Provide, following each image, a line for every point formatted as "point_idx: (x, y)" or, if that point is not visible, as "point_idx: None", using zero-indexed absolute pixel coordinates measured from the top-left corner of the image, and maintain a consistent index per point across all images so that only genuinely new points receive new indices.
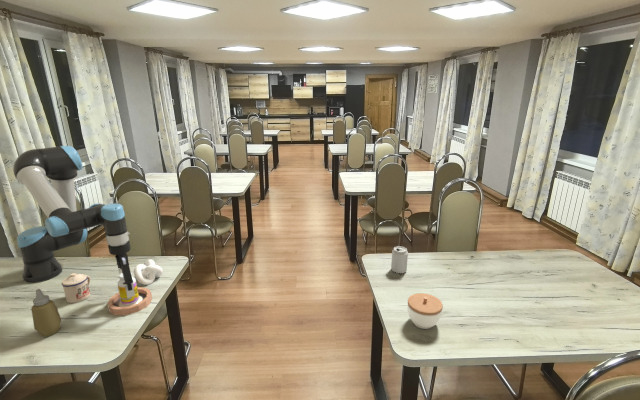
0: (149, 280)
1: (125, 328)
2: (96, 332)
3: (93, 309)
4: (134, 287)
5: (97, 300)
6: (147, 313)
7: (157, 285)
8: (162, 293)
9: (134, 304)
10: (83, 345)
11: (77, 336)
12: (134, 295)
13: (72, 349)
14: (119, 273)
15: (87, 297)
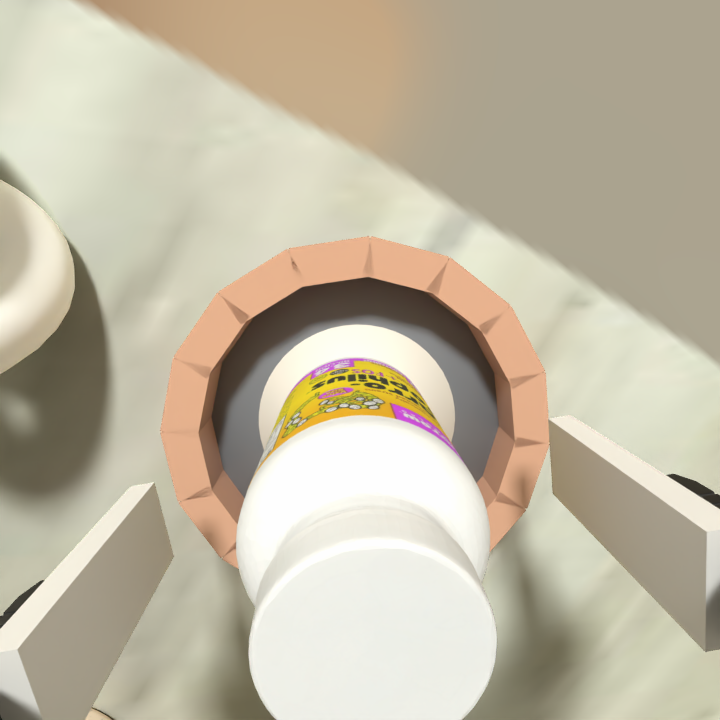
0: (37, 232)
1: (691, 456)
2: (615, 619)
3: None
4: (433, 424)
5: (171, 645)
6: (592, 298)
7: (121, 165)
8: (319, 135)
9: (425, 394)
10: (706, 671)
11: (588, 709)
12: (571, 421)
13: (705, 716)
14: (103, 684)
15: (99, 717)
